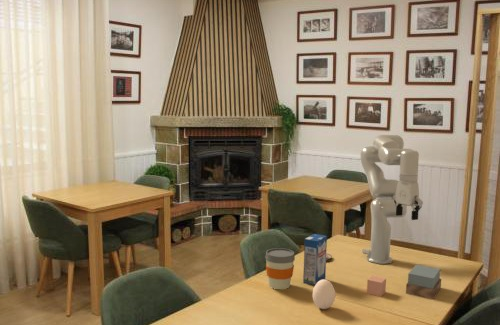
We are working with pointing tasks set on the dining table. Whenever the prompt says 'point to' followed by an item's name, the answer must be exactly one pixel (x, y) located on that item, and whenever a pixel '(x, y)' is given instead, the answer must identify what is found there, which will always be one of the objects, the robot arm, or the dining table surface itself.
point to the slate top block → (424, 276)
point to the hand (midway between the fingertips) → (406, 217)
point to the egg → (323, 294)
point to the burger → (328, 257)
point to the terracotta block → (376, 286)
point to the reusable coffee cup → (279, 267)
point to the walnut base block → (423, 290)
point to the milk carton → (314, 259)
